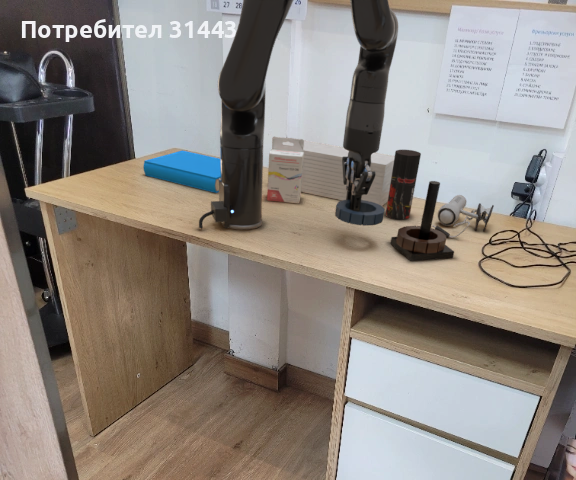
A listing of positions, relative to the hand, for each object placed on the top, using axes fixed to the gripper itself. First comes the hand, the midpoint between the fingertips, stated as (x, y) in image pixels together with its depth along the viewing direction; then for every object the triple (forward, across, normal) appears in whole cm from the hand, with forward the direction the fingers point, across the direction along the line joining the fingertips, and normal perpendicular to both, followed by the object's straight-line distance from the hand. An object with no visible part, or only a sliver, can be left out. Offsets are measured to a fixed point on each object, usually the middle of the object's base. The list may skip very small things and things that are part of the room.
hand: (352, 209), depth 122 cm
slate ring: (0, +4, 0) cm, 4 cm away
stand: (+6, +11, +13) cm, 18 cm away
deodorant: (+6, -11, +18) cm, 21 cm away
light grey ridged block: (+6, -32, +7) cm, 33 cm away
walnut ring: (+4, +11, +12) cm, 17 cm away
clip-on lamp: (+6, 0, +29) cm, 29 cm away
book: (+7, -49, -27) cm, 56 cm away
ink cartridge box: (+6, -27, -8) cm, 29 cm away
